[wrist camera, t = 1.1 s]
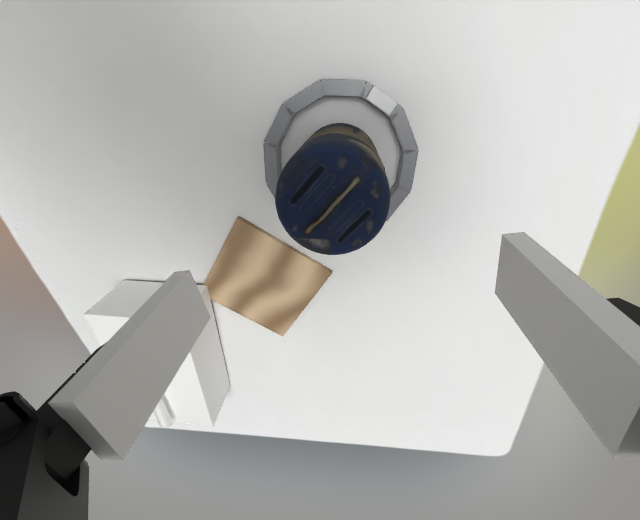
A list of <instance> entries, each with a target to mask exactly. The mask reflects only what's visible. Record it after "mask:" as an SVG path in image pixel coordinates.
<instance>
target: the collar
mask: <svg viewBox="0 0 640 520" xmlns="http://www.w3.org/2000/svg"><path fill="white" fill-rule="evenodd" d="M365 81H366V80H342V79H322V80H318V81H317V82H315V83H313V84H312V85H310V86H309V87H307V88H306V89H304V90H302V91H301V92H299V93H298V94H296V95H294V96H293V97H291V98H290V99H288V100H287V101H285V102H283V103H284V104H282V105H281V107H280V109H279V111H278V113H277V115H276V117H275V120H274V122H273V124H272V126H271V128H270V130H269V132H268V134H267V136H266V138H265V140H264V142H265V143H263V144H264V161H265V178H266V182H267V186H268V187H269V189H270V191H271V192H272V194H273V196H274V197H275V194H276V186H277V182H278V179H279V176H280V174H281V146H280V143H281V141H282V139H283V137H284V135H285V133H286V131H287V130H288V128H289V126H290V124H291V122H292V120H293V118H294V116H295V114H296V113H297V112H299V111H300V110H302V109H303V108H305V107H307V106H308V105H310V104H312V103H313V102H315V101H317V100H318V99H320V98H321V97H323V96H325V95H335V96H361V97H363V98H364V99H365V100H367V101H368V102H370V103H371V104H372V105H374V106H375V107H376V108H378V109H379V110H380V111H382V112H383V113H385V114H386V115H387V116H389V118H390V121H391V123H392V126H393V128H394V131H395V133H396V136H397V139H398V141H399V144H400V146H401V155H400V162H399V168H398V175H397V181H396V183H395V184H394V185H393V187H392V188H391V189H390V207H389V212H388V216H387V218H386V221H387V220H388V219H389V218H390V216H391V215H392V214H393V213H394V211H395V210H396V209H397V208H398V207H399V205H400V204H401V203H402V202H403V200H404V199H405V198H406V197H407V195H408V194H409V193H410V190H411V188H412V183H413V177H414V172H415V166H416V161H417V155H418V150H417V149H418V146H417V144H416V141H415V138H414V135H413V133H412V130H411V127H410V125H409V122H408V119H407V116H406V114H405V111H404V109H403V108H402V106H400V105H399V104H398V103H397V102H396V101H395V100H393V99H392V98H391V97H389V96H388V95H387V94H385V93H384V92H383V91H381V90H380V89H379V88H377V87H376V86H375V85H372V84H371V83H370V82H368V81H367V82H366V83H365Z"/></svg>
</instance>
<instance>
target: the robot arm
mask: <svg viewBox="0 0 640 520" xmlns="http://www.w3.org/2000/svg"><path fill="white" fill-rule="evenodd" d="M495 294H496V295H497V297H498V298H499V299H500V301H501V302H502V304H503V305H504V306H505V308H506V309H507V311H508V312H509V313H510V315H511V316H512V318H513V319H514V320H515V322H516V323H517V325H518V326H519V327H520V329H521V330H522V332H523V333H524V334H525V336H526V337H527V339H528V340H529V342H530V343H531V344H532V346H533V347H534V349H535V350H536V351H537V353H538V354H539V356H540V357H541V358H542V360H543V361H544V363H545V364H546V365H547V367H548V368H549V370H550V371H551V372H552V374H553V375H554V376H555V378H556V379H557V381H558V382H559V384H560V385H561V386H562V388H563V389H564V391H565V392H566V393H567V395H568V396H569V398H570V399H571V400H572V402H573V403H574V404H575V406H576V407H577V409H578V410H579V411H580V413H581V414H582V416H583V417H584V419H585V420H586V421H587V422H588V424H589V425H590V427H591V428H592V430H593V431H594V432H595V434H596V435H597V437H598V438H599V440H600V441H601V442H602V444H603V445H604V447H605V448H606V449H607V450H608V452H609V454H610V455H611V456H612V458H640V307H638V306H635V305H633V304H631V303H629V302H627V301H625V300H622V299H620V298H610V299H605V298H604V297H603V296H602V295H600V294H599V293H598V292H597V291H595V290H594V289H593V288H592V287H591V286H589V285H588V284H587V283H586V282H584V281H583V280H582V279H581V278H580V277H578V276H577V275H576V274H575V273H573V272H572V271H571V270H570V269H569V268H567V267H566V266H565V265H564V264H562V263H561V262H560V261H559V260H558V259H556V258H555V257H554V256H553V255H551V254H550V253H549V252H548V251H547V250H545V249H544V248H543V247H542V246H540V245H539V244H538V243H537V242H536V241H534V240H533V239H532V238H531V237H529V236H528V235H527V234H526V233H525V232H519V233H510V234H502V239H501V247H500V256H499V264H498V272H497V280H496V288H495ZM210 318H211V317H210V315H209V312H208V310H207V308H206V306H205V303H204V301H203V299H202V297H201V294H200V292H199V290H198V288H197V285H196V283H195V281H194V279H193V276H192V274H191V272H190V270H188V271H179V272H174V273H173V274H172V275H171V276H170V277H169V278H168V279H167V280H166V281H165V282H164V283H163V284H162V285H161V287H160V288H159V289H158V290H157V291H156V292H155V293H154V294H153V295H152V296H151V297H150V298H149V299H148V300H147V301H146V302H145V303H144V304H143V305H142V306H141V307H140V308H139V309H138V310H137V311H136V312H135V313H134V315H133V316H132V317H131V318H130V319H129V320H128V321H127V322H126V323H125V324H124V325H123V326H122V327H121V328H120V329H119V330H118V331H117V332H116V333H115V334H114V335H113V336H112V337H111V338H110V339H109V340H108V341H107V342H106V343H105V344H103V345H102V346H101V347H99V348H98V349H97V350H96V351H95V352H94V353H93V354H92V355H91V356H90V357H89V358H88V359H87V360H86V361H85V363H83V364H82V365H81V366H80V367H79V368H78V369H77V370H76V373H73V374H72V375H71V376H70V377H69V378H68V379H67V380H66V381H65V382H64V383H63V384H62V386H60V387H59V388H58V389H57V391H56V392H55V393H54V394H53V395H52V396H51V397H50V398H49V399H48V400H47V401H46V402H45V403H44V404H43V405H42V406H41V407H40V408H39V409H38V410H37V411H36V410H35V409H34V408H33V407H32V406H31V405H30V404H29V403H28V402H27V401H26V400H25V399H24V398H23V397H22V396H21V395H20V394H19V393H17V392H8V393H4V394H1V395H0V520H88V491H89V490H88V489H89V466H88V463H87V462H86V461H85V460H84V458H85V457H86V456H87V454H88V453H89V452H90V450H92V451H94V453H95V454H96V455H97V456H98V457H99V458H100V459H101V460H124V458H125V457H126V455H127V453H128V452H129V450H130V448H131V447H132V445H133V444H134V442H135V440H136V439H137V437H138V435H139V434H140V432H141V431H142V429H143V427H144V426H145V424H146V422H147V421H148V419H149V417H150V416H151V414H152V413H153V411H154V409H155V408H156V406H157V404H158V403H159V401H160V399H161V398H162V396H163V395H164V393H165V391H166V390H167V388H168V386H169V385H170V383H171V382H172V380H173V378H174V377H175V375H176V373H177V372H178V370H179V368H180V367H181V365H182V364H183V362H184V360H185V359H186V357H187V355H188V354H189V352H190V351H191V349H192V347H193V346H194V344H195V342H196V341H197V339H198V337H199V336H200V334H201V333H202V331H203V329H204V328H205V326H206V324H207V323H208V321H209V319H210Z"/></svg>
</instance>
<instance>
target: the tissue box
mask: <svg viewBox="0 0 640 520" xmlns="http://www.w3.org/2000/svg"><path fill="white" fill-rule="evenodd" d="M162 284H163V282H147V281H131V280H123V281H122V282H121V283H120V284H119V285H117V286H116V287H115V288H114V289H113V290H112V291H110V292H109V293H108V294H107V295H106V296H105V297H103V298H102V299H101V300H100V301H99V302H97V303H96V304H95V305H94V306H93V307H92V308H90V309H89V310H88V311H87V312H86V313H85V314H84V316H85V317H86V319H87V321H88V323H89V325H90V327H91V329H92V331H93V333H94V335H95V337H96V339H97V341H98V343H99V345H100V347H101V346H102V345H103V344H105V343H106V342H107V341H108V340H109V339H110V338H111V337H112V336H113V335H114V334H115V333H116V332H117V331H118V330H119V329H120V328H121V327H122V326H123V325H124V324H125V323H126V322H127V321H128V320H129V319H130V318H131V317H132V316H133V315H134V313H135V312H136V311H137V310H138V309H139V308H140V307H141V306H142V305H143V304H144V303H145V302H146V301H147V300H148V299H149V298H150V297H151V296H152V295H153V294H154V293H155V292H156V291H157V290H158V289H159V288H160V287H161V285H162ZM197 288H198V290H199V292H200V294H201V297H202V299H203V301H204V303H205V306H206V308H207V310H208V312H209V315H210V317H211V318H210V319H209V321H208V323H207V324H206V326H205V328H204V329H203V331H202V333H201V334H200V336H199V337H198V339H197V341H196V342H195V344H194V346H193V347H192V349H191V351H190V352H189V354H188V355H187V357H186V359H185V360H184V362H183V364H182V365H181V367H180V368H179V370H178V372H177V373H176V375H175V377H174V378H173V380H172V382H171V383H170V385H169V386H168V388H167V390H166V391H165V393H164V395H163V396H162V398H161V399H160V401H159V403H158V404H157V406H156V408H155V409H154V411H153V413H152V414H151V416H150V417H149V419H148V420H154V421H158V423H159V425H160V426H162V427H168V426H170V425H172V423H182V424H192V425H201V426H211V427H213V426H214V423H215V421H216V418H217V416H218V414H219V411H220V409H221V406H222V404H223V401H224V399H225V397H226V394H227V392H228V389H229V387H230V383H229V378H228V374H227V369H226V365H225V361H224V356H223V352H222V347H221V343H220V339H219V334H218V330H217V326H216V321H215V317H214V312H213V308H212V304H211V299H210V295H209V290H208V286H207V285H197Z"/></svg>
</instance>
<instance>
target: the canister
mask: <svg viewBox="0 0 640 520" xmlns="http://www.w3.org/2000/svg"><path fill="white" fill-rule="evenodd" d="M275 202H276V209H277V213H278V216H279V219H280V221H281V223H282V225H283V227H284V228H285V230H286V231H287V232H288V234H289V235H290V236H291V237H292V238H293V239H294V240H295V241H296V242H297V243H299V244H300V245H302V246H303V247H305V248H307V249H309V250H311V251H314V252H317V253H321V254H327V255H339V254H345V253H349V252H352V251H355V250H357V249H359V248H361V247H363V246H364V245H366V244H367V243H369V242H370V241H371V240H372V239H373V238H374V237H375V236H376V235H377V234H378V233H379V231H380V230H381V228H382V226H383V225H384V223H385V221H386V218H387V216H388V212H389V207H390V189H389V183H388V179H387V176H386V174H385V168H384V166H383V164H382V162H381V159H380V157H379V155H378V153H377V151H376V148H375V146H374V144H373V142H372V141H371V139H370V138H369V137H368V135H367V134H366V133H364V132H363V131H362V130H360V129H359V128H357V127H355V126H352V125H349V124H343V123H336V124H330V125H327V126H325V127H323V128H321V129H319V130H318V131H316V132H315V133H314V134H313V135H312V136H311V137H310V138H309V139H308V140H307V141H306V142H305V143H304V144H303V145H302V147H301V148H300V149H299V150H298V151H297V152H296V153H295V154H294V155H293V156H292V158H291V159H290V160H289V161H288V162H287V164H286V165H285V167H284V169H283V170H282V172H281V174H280V176H279V179H278V182H277V186H276V194H275Z"/></svg>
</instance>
